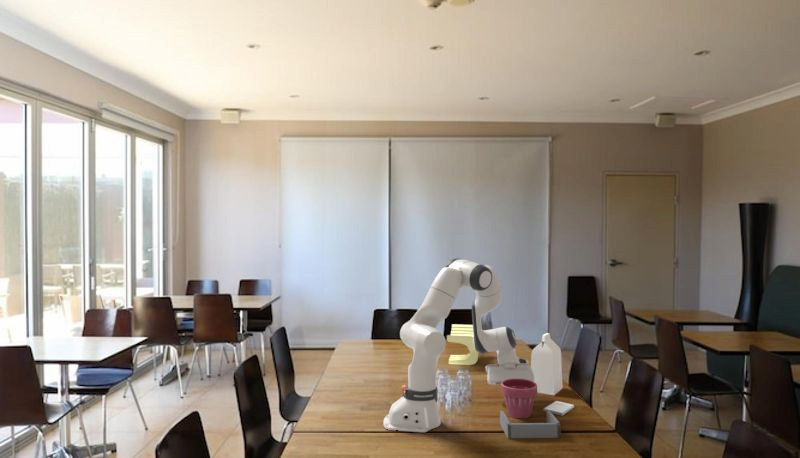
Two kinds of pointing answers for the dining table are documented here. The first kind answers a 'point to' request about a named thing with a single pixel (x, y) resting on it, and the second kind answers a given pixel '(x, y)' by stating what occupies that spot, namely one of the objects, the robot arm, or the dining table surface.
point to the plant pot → (519, 396)
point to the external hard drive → (559, 408)
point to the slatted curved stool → (465, 337)
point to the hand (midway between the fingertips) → (513, 393)
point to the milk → (547, 366)
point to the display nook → (532, 428)
